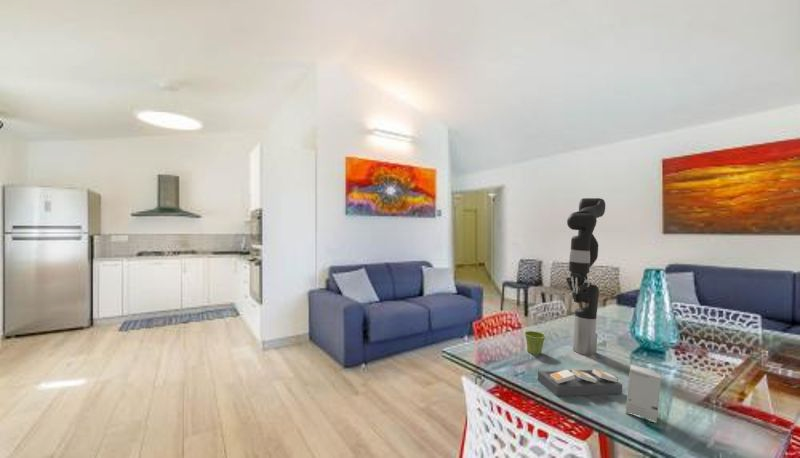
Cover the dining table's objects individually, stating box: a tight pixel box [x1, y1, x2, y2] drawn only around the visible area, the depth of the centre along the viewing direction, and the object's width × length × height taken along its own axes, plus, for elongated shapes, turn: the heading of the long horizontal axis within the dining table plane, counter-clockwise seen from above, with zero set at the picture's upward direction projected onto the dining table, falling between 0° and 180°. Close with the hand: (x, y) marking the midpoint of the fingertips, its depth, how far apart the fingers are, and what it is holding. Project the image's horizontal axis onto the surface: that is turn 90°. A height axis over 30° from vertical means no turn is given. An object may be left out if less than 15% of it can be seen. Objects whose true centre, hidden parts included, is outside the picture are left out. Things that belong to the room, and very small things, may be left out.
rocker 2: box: [571, 368, 597, 383], centre depth 121 cm, size 7×4×2 cm, turn 99°
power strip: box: [537, 369, 623, 397], centre depth 124 cm, size 32×12×4 cm, turn 98°
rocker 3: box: [591, 368, 619, 382], centre depth 122 cm, size 7×4×2 cm, turn 99°
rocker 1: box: [550, 369, 575, 384], centre depth 120 cm, size 7×4×2 cm, turn 98°
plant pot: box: [524, 330, 547, 355], centre depth 157 cm, size 9×9×9 cm
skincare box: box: [625, 364, 662, 423], centre depth 106 cm, size 8×6×15 cm
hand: (577, 302), depth 137 cm, fingers closed
